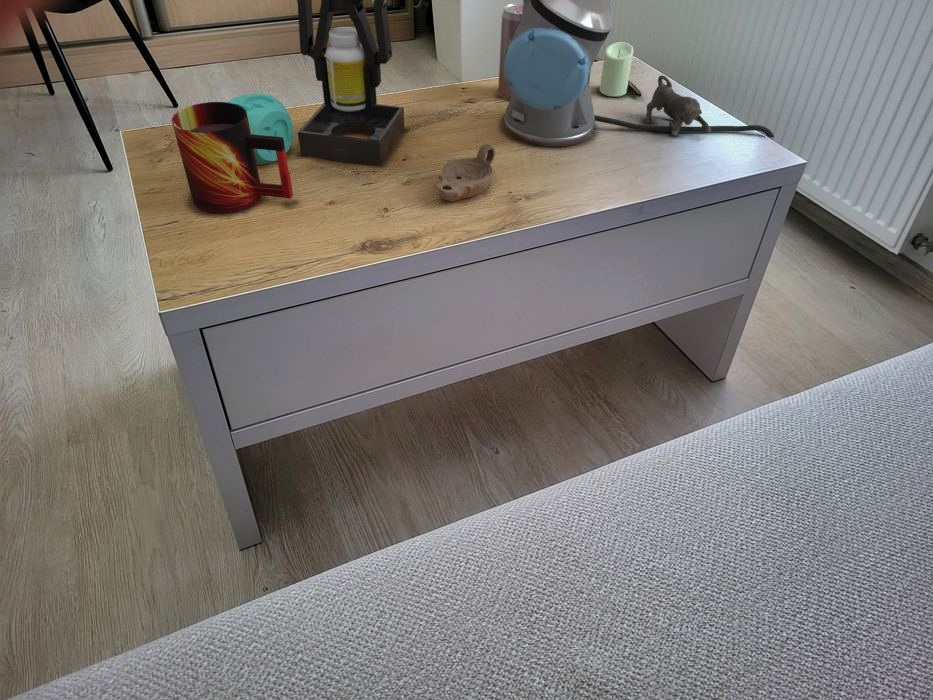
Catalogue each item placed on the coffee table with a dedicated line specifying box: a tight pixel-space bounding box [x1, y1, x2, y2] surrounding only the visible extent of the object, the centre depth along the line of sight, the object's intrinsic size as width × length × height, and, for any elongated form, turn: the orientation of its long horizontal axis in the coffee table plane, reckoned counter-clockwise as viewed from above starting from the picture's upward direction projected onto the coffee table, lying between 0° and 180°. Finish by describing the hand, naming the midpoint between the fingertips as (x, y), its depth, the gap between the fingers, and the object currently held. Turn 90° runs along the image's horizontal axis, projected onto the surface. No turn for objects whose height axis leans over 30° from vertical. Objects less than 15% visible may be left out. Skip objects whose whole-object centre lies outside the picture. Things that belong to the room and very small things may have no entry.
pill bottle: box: [325, 26, 368, 112], centre depth 109 cm, size 6×6×11 cm
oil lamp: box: [434, 143, 496, 202], centre depth 105 cm, size 13×8×5 cm, turn 143°
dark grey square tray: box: [314, 112, 397, 163], centre depth 116 cm, size 13×13×2 cm
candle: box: [599, 41, 634, 98], centre depth 131 cm, size 5×5×8 cm
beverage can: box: [497, 2, 523, 101], centre depth 127 cm, size 6×6×15 cm
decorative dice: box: [227, 93, 295, 166], centre depth 110 cm, size 8×8×8 cm
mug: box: [171, 101, 294, 215], centre depth 99 cm, size 10×14×12 cm
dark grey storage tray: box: [297, 102, 406, 167], centre depth 115 cm, size 13×13×4 cm
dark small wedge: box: [627, 80, 642, 98], centre depth 136 cm, size 14×1×2 cm, turn 13°
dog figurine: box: [645, 75, 713, 137], centre depth 120 cm, size 12×6×7 cm, turn 30°
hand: (350, 103), depth 112 cm, fingers closed on pill bottle, 6 cm apart
